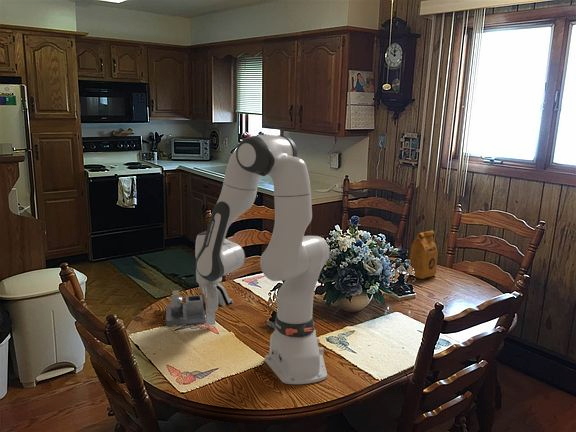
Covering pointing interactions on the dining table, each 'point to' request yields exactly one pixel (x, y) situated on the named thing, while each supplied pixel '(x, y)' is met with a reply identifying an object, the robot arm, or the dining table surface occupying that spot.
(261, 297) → the dining table surface
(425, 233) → the coffee package
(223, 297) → the napkin holder
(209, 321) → the tan capped white cylinder
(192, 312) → the grey twin-post block
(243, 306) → the dining table surface
